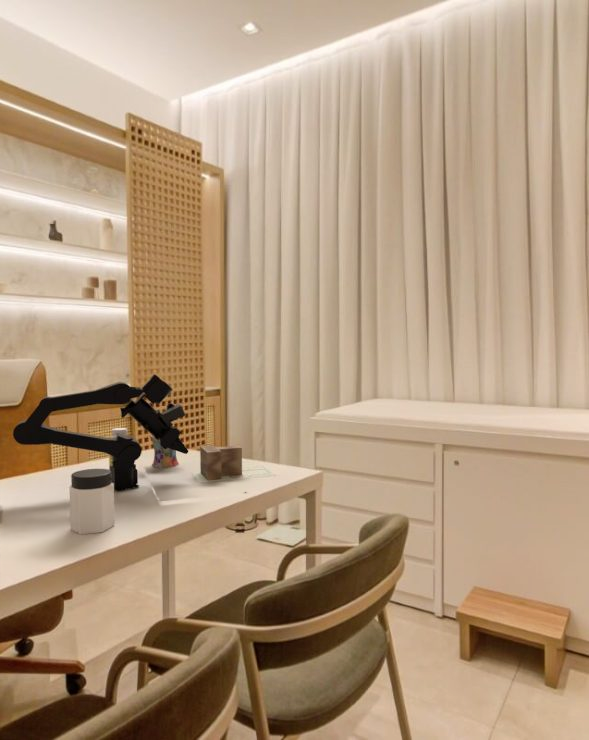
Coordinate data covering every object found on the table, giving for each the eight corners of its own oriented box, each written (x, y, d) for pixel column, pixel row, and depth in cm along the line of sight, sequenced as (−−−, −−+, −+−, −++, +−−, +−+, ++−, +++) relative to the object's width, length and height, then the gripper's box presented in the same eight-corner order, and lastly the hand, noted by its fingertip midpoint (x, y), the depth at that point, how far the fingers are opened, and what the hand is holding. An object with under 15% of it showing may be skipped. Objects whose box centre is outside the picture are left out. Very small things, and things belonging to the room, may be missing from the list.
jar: (120, 527, 116) (119, 472, 115) (84, 537, 110) (82, 479, 109) (100, 518, 122) (99, 466, 121) (65, 527, 116) (63, 472, 116)
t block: (207, 480, 152) (207, 452, 152) (200, 472, 161) (200, 446, 161) (245, 476, 156) (244, 449, 156) (236, 469, 165) (235, 443, 165)
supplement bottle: (132, 470, 169) (131, 429, 169) (109, 472, 167) (109, 431, 166) (130, 465, 176) (129, 426, 175) (108, 467, 173) (107, 428, 173)
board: (199, 486, 150) (199, 482, 150) (191, 475, 162) (191, 472, 162) (276, 478, 158) (276, 475, 158) (262, 469, 170) (262, 466, 170)
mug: (175, 471, 168) (174, 437, 167) (146, 471, 168) (145, 437, 168) (185, 463, 180) (185, 431, 179) (158, 462, 180) (158, 431, 180)
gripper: (172, 398, 143) (213, 436, 148) (163, 392, 161) (200, 427, 165) (142, 429, 141) (185, 467, 145) (136, 420, 158) (174, 454, 163)
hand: (187, 452), depth 155 cm, fingers closed
